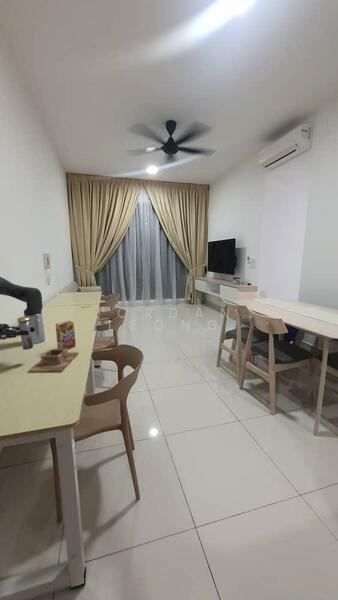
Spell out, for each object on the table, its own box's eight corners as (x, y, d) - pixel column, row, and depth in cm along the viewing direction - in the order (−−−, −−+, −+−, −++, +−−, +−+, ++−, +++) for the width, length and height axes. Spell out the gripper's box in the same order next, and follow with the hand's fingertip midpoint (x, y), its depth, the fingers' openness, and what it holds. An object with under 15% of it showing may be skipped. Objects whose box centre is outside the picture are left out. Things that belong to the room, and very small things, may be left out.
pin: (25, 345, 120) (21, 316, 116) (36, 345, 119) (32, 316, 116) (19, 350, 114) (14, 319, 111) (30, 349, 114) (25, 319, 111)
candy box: (61, 351, 131) (59, 324, 128) (57, 350, 133) (54, 323, 130) (76, 346, 138) (74, 320, 135) (72, 345, 140) (69, 319, 138)
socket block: (50, 354, 128) (49, 345, 127) (78, 353, 128) (77, 344, 127) (28, 372, 108) (27, 361, 107) (61, 372, 108) (60, 361, 107)
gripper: (-17, 329, 108) (21, 328, 107) (4, 320, 122) (38, 319, 121) (-14, 344, 109) (23, 344, 109) (7, 334, 123) (40, 333, 123)
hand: (31, 331), depth 115 cm, fingers closed on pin, 4 cm apart
